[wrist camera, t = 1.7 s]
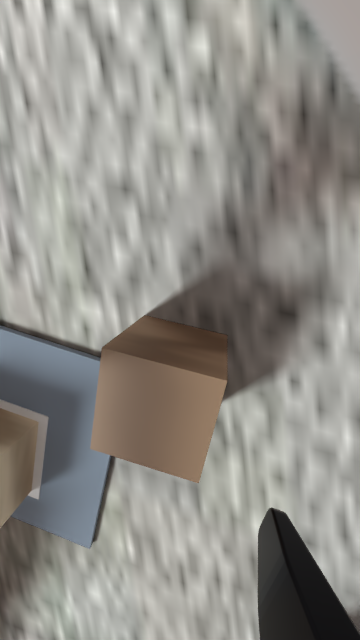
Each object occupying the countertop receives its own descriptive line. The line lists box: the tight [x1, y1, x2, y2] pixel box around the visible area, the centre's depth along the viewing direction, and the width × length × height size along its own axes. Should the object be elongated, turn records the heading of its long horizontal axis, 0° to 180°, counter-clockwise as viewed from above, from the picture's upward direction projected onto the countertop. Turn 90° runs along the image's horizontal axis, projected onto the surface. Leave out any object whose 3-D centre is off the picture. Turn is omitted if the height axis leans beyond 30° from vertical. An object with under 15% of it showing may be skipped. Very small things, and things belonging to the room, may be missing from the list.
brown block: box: [90, 315, 227, 483], centre depth 12 cm, size 4×4×5 cm
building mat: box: [0, 325, 111, 549], centre depth 17 cm, size 13×15×1 cm
